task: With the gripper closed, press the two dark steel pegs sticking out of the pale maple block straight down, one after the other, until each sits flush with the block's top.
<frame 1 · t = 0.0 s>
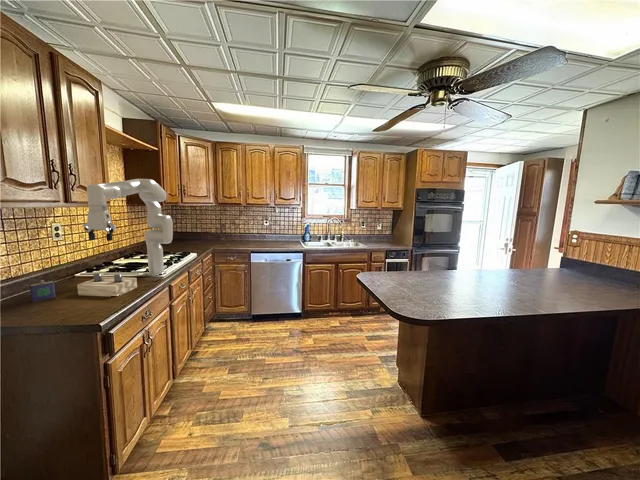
hand: (100, 240, 147), 31 cm above the worktop, tool pointing down, fingers open, 9 cm apart
flask: (44, 300, 144), on the worktop
peg a: (97, 278, 158), point 7 cm above the worktop, slide at 4.0 cm
maple block: (109, 291, 159), on the worktop
peg b: (118, 279, 157), point 7 cm above the worktop, slide at 4.0 cm
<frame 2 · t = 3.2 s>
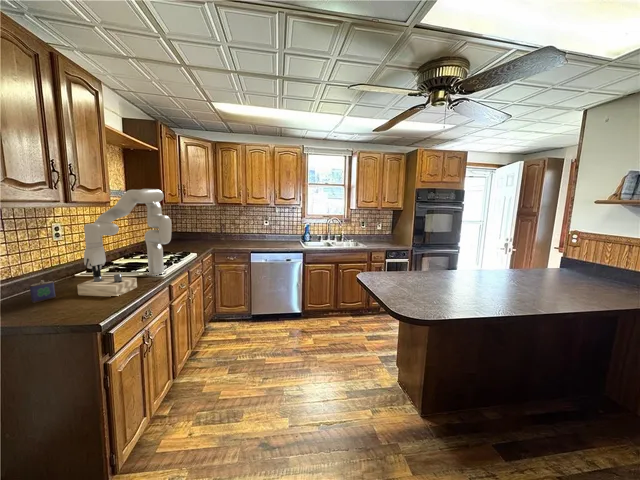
hand: (97, 276, 157), 9 cm above the worktop, tool pointing down, fingers closed
peg a: (98, 281, 158), point 6 cm above the worktop, slide at 2.5 cm, touching gripper
everything else where it was.
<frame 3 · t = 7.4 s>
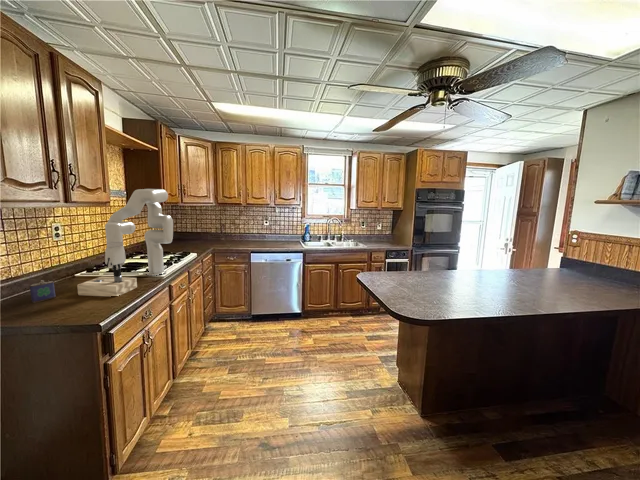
hand: (117, 275, 157), 9 cm above the worktop, tool pointing down, fingers closed
peg a: (98, 285, 158), point 3 cm above the worktop, slide at 0.2 cm
peg b: (118, 280, 158), point 7 cm above the worktop, slide at 3.4 cm, touching gripper
everything else where it was.
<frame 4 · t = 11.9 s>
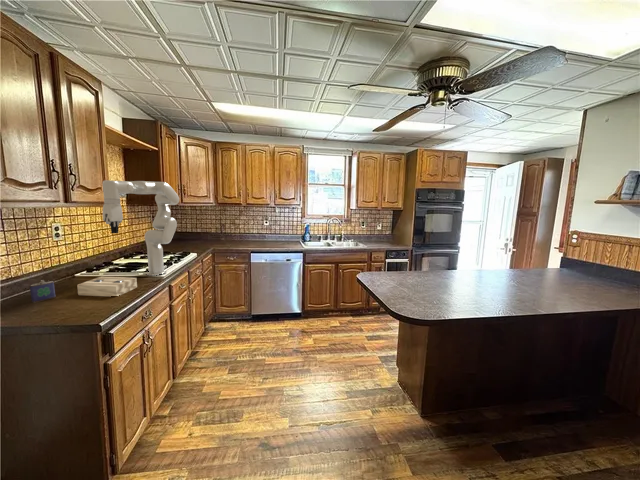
hand: (114, 233, 162), 33 cm above the worktop, tool pointing down, fingers closed
peg b: (118, 285, 158), point 3 cm above the worktop, slide at 0.2 cm
everything else where it was.
at the end: peg a slide at 0.2 cm; peg b slide at 0.2 cm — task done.
